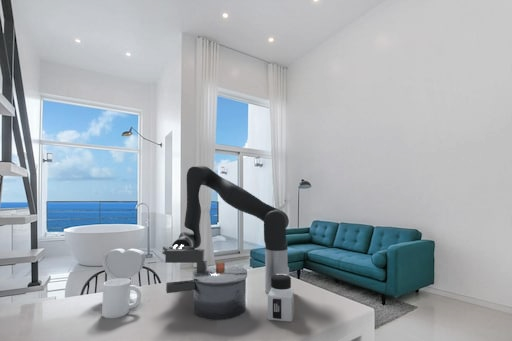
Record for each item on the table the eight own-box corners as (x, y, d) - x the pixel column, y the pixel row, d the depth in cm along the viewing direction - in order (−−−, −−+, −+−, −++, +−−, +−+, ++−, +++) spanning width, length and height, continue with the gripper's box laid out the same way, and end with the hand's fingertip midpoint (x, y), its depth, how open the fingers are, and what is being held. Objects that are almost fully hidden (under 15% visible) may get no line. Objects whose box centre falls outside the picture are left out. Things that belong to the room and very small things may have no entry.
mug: (143, 307, 99) (144, 277, 100) (137, 317, 91) (138, 284, 92) (107, 309, 98) (109, 278, 99) (97, 319, 90) (99, 286, 91)
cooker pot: (236, 297, 110) (237, 268, 111) (252, 315, 94) (253, 280, 95) (164, 306, 101) (165, 274, 102) (167, 328, 84) (168, 290, 85)
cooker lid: (247, 269, 109) (247, 245, 110) (246, 284, 90) (246, 255, 91) (173, 269, 109) (174, 245, 110) (156, 284, 90) (158, 255, 91)
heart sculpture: (98, 298, 108) (101, 250, 110) (105, 294, 113) (108, 248, 115) (139, 298, 108) (141, 250, 110) (144, 294, 113) (146, 248, 115)
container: (291, 322, 88) (291, 279, 90) (267, 320, 90) (267, 277, 91) (293, 312, 96) (293, 273, 97) (271, 310, 98) (271, 271, 99)
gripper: (167, 237, 119) (155, 244, 102) (199, 237, 120) (192, 244, 102) (166, 255, 118) (154, 265, 101) (198, 255, 119) (191, 265, 102)
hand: (173, 255), depth 102 cm, fingers closed
